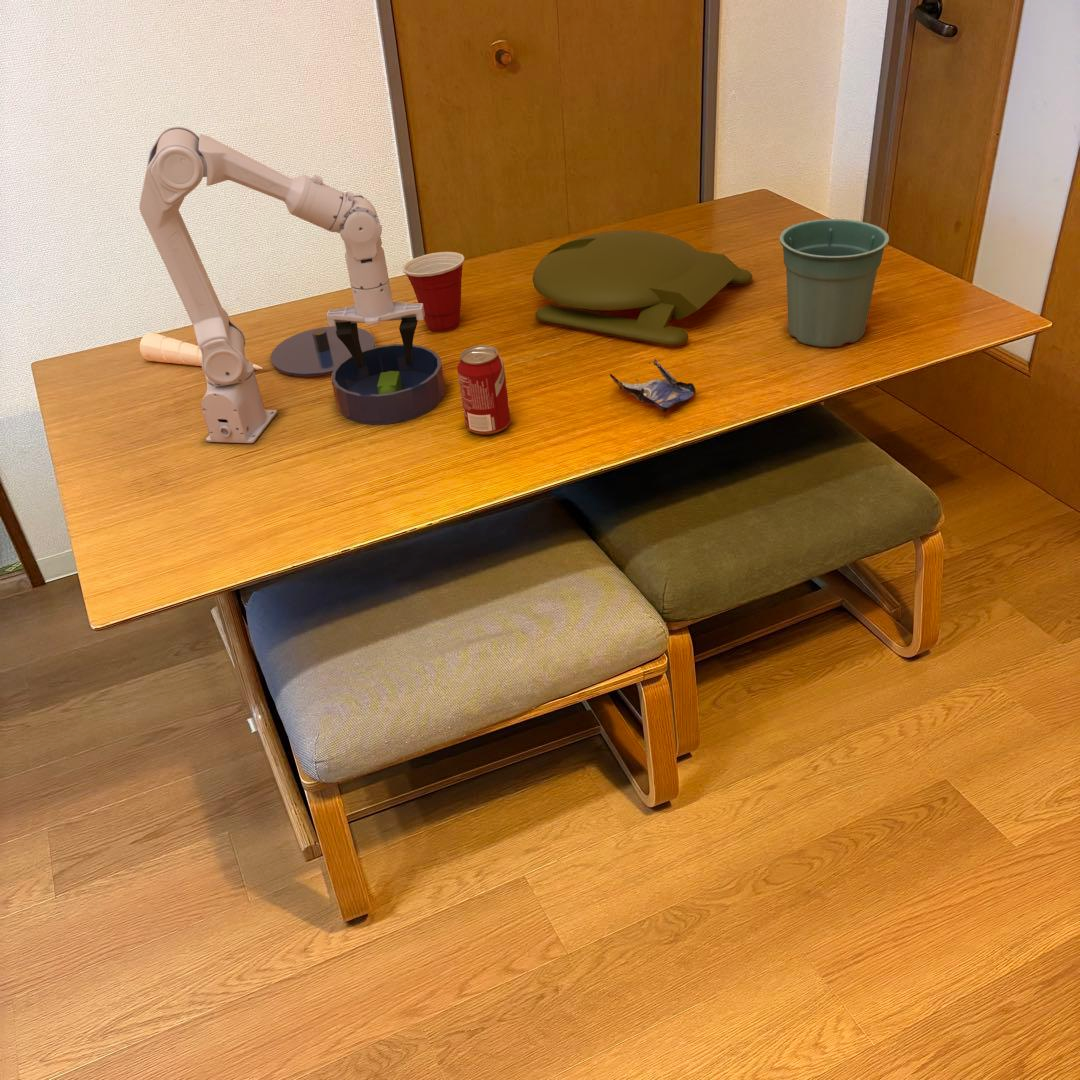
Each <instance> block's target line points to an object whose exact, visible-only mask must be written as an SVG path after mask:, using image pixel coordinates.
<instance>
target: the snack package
mask: <svg viewBox="0 0 1080 1080" xmlns="http://www.w3.org/2000/svg"><path fill="white" fill-rule="evenodd" d="M652 363H653V366H656V367H657V369H658V370H659V372H660V375H662V377H663V379H661V378H656V379H655V378H654V379H651V380H649V381H646V382H644V383H627V382H624V381H619V379H618V378H617V377H616V376H614V375H613V374H611V373H609V376H610V378H611V379H612V381H613V382H614V384H616V385H617V386H618V387H619V389H620V390H624V391H625V392H626V393H627V394H629V395H630V396H632V397H633V398H635V400H637V401H639V402H640V403H643V404H647V405H652V406H656V408H658V410H661V411H662V412H663V413H667V411H669V409H671V407H673V406H674V405H675V404H677V405H678V407H677V408H675V409H678V408H679V407H681V406H682V405H683V404H685V403H688V402H689V401H690V400H691V399H692V397H693V396H694V395H695V394H696V392H697V391H696V387H695V385H694V383H692V382H688V383H687V382H682V381H677V380H676V378H675V377H673V375H672V374H671V373H670V372H668V370H667V369H666V368H665V367H663V365H662V364H661V363H659V362H658V360H657V358H655V360H654V361H653V362H652ZM648 364H651V362H650V361H649V362H648ZM638 368H641V366H638ZM635 381H636V382H639V379H637V378H635ZM675 409H674V410H675ZM663 417H664V418H665V417H666V415H663Z"/></svg>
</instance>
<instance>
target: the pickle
mask: <svg viewBox="0 0 1080 1080" xmlns="http://www.w3.org/2000/svg"><path fill="white" fill-rule="evenodd" d="M377 389H378V394H385V393H392V392H397V391H400V390H401V389H402V383H401V378H400V372H399V371H396V372H395V371H388V372H382V373H381V374H380V377H379V381H378V384H377Z"/></svg>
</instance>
